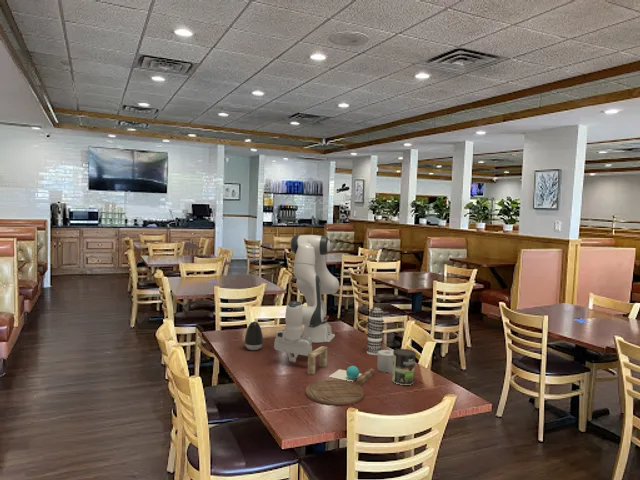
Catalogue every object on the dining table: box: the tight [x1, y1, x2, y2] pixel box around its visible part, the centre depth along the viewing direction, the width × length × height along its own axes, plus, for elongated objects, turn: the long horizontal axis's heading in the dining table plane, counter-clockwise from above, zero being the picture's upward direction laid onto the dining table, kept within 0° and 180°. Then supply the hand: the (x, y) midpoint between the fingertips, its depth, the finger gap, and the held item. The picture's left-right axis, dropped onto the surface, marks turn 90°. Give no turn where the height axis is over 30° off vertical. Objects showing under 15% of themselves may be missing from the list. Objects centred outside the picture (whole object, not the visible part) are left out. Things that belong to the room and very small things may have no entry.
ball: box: [346, 365, 360, 380], centre depth 223 cm, size 6×6×6 cm
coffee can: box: [391, 348, 417, 386], centre depth 222 cm, size 10×10×14 cm
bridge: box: [306, 345, 329, 376], centre depth 234 cm, size 3×15×10 cm, turn 153°
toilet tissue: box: [376, 349, 394, 374], centre depth 237 cm, size 9×13×9 cm
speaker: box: [243, 321, 264, 351], centre depth 263 cm, size 10×10×15 cm
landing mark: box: [328, 368, 363, 383], centre depth 228 cm, size 12×12×1 cm
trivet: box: [305, 379, 365, 407], centre depth 205 cm, size 25×25×2 cm
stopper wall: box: [355, 368, 375, 387], centre depth 223 cm, size 18×2×2 cm, turn 154°
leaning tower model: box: [366, 306, 385, 356], centre depth 265 cm, size 9×9×25 cm
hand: (292, 361), depth 240 cm, fingers closed
